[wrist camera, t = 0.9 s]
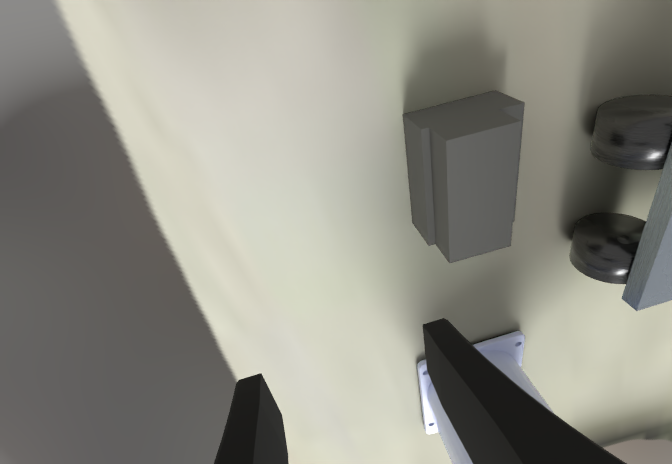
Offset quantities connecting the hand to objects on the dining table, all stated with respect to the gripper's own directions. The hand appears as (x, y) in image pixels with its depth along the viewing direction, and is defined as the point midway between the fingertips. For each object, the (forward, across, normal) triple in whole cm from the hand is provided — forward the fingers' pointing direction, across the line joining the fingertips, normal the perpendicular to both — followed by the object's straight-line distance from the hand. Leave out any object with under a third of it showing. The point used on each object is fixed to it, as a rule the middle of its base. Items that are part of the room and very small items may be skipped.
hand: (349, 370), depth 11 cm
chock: (+10, -8, 0) cm, 13 cm away
